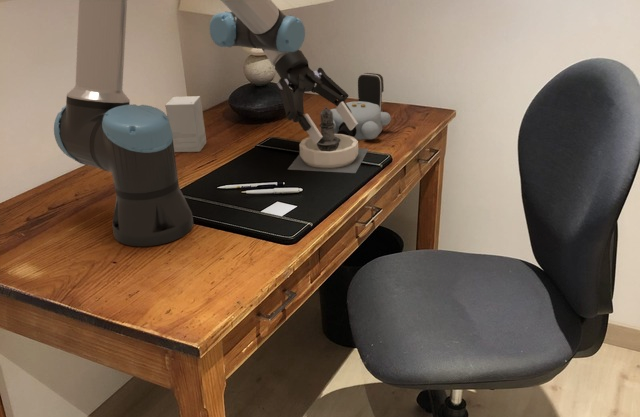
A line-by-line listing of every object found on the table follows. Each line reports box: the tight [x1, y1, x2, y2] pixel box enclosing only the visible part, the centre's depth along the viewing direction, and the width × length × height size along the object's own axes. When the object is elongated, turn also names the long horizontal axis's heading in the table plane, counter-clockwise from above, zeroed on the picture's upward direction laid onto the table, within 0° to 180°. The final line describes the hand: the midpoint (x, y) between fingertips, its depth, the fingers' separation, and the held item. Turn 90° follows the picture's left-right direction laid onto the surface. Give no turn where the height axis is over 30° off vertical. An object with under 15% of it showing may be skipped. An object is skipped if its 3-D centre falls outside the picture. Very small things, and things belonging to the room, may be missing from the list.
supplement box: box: [164, 95, 207, 153], centre depth 170 cm, size 7×7×13 cm
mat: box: [287, 147, 369, 174], centre depth 159 cm, size 16×16×1 cm
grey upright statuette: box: [317, 105, 340, 151], centre depth 156 cm, size 6×6×12 cm
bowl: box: [298, 134, 359, 168], centre depth 158 cm, size 13×13×4 cm
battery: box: [357, 72, 384, 112], centre depth 190 cm, size 7×4×11 cm, turn 61°
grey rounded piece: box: [319, 100, 392, 141], centre depth 174 cm, size 17×8×20 cm
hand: (336, 133), depth 155 cm, fingers open, 11 cm apart
